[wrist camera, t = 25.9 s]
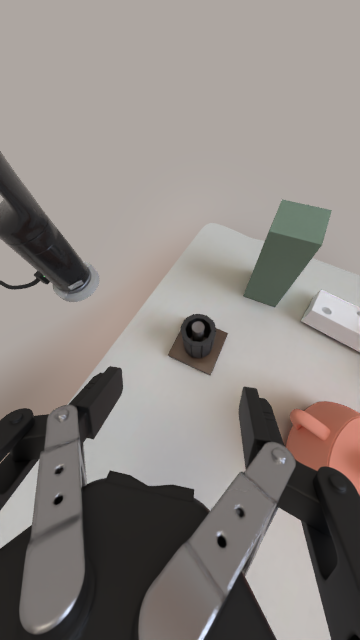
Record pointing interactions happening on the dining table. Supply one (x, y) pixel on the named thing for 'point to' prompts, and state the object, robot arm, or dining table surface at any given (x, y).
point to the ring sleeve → (196, 347)
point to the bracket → (334, 318)
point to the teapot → (327, 438)
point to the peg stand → (198, 327)
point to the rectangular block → (287, 250)
